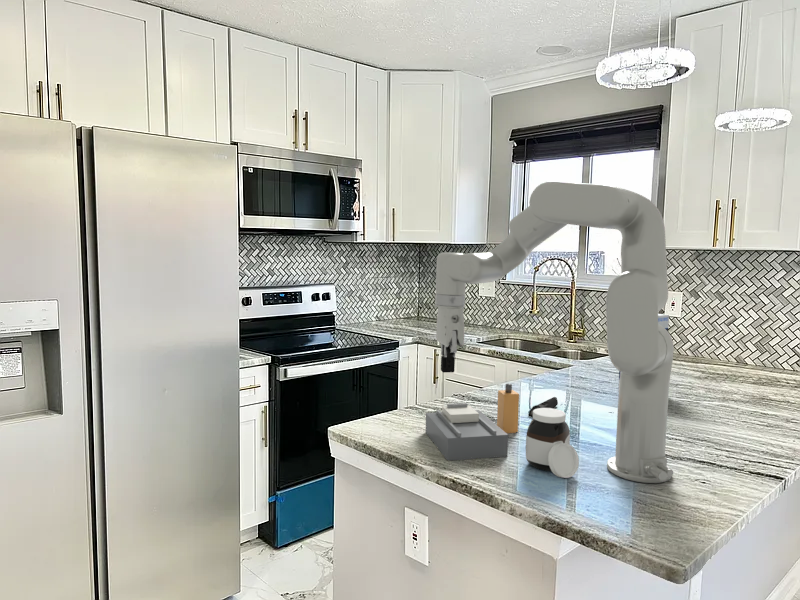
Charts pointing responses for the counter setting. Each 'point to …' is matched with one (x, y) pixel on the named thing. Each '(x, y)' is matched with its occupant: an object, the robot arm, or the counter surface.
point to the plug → (508, 409)
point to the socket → (466, 437)
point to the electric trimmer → (545, 405)
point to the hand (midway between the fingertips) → (447, 371)
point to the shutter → (460, 413)
